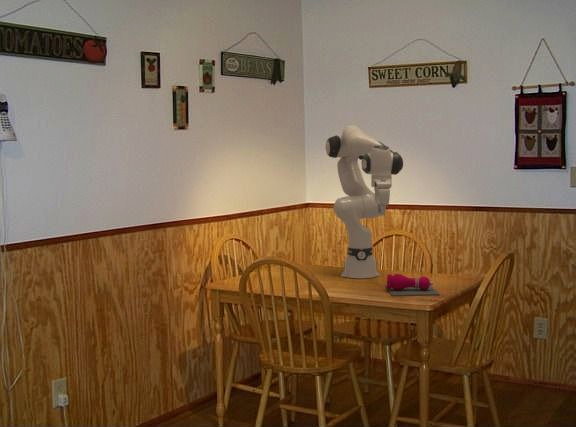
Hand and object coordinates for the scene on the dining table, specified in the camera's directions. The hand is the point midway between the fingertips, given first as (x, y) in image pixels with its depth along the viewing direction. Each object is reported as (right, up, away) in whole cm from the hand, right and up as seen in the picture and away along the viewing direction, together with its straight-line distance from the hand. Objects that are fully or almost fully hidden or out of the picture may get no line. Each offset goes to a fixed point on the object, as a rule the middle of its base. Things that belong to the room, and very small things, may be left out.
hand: (381, 214), depth 346 cm
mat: (+13, -33, -3) cm, 36 cm away
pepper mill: (+2, -29, -3) cm, 29 cm away
